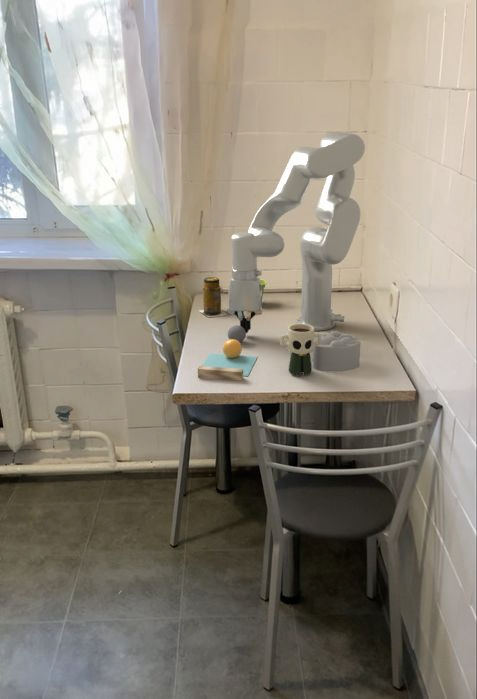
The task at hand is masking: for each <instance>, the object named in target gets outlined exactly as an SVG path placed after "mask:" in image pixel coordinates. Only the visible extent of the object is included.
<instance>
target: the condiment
mask: <svg viewBox="0 0 477 699" xmlns="http://www.w3.org/2000/svg"><path fill="white" fill-rule="evenodd" d="M221 288H222V287H221V286H220V279H219V277H215V276H214V277H213V276H211V277H209V276H208V277H205V278H204V279H203V287H202V290H203V291H202V293H203V294H202V298H203V299H202V303H203V304H202V305H203V309H201V310H200V309H199V310H198V312H200V313H201V314H203V315H204V316H205V317H207V318H214V317H221V316H227V315H228V314H229V313H226V312H225V311H222V291H221V290H222V289H221Z"/></svg>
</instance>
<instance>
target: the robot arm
mask: <svg viewBox="0 0 477 699" xmlns="http://www.w3.org/2000/svg"><path fill="white" fill-rule="evenodd" d="M365 146H366V145H365V142H364V140H363V138H361V136H360V135H358V134H355V133H348V132H340V131H330V132H327V133H325V134H323V135H322V137H321V138H320V141H319V147H318V148H317V147H309V146H302V147H297V149H295V150H294V151H293V152H292V154H291V156H290V158H289V160H288V162H287V165H286V166H285V168H284V171H283V173H282V176H281V177H280V180H279V182H278V184H277V186H276V188H275V191H274V192H273V193H272V195H271V196H270V197H269V198H268V199H267V200H266V201H265V202H264V203H263V204H262V205H261V207H260V208H259V209H258V210H257V211H256V213H255V215H254V217H253V218H252V222H251V223H250V225H249V228H248V231H247V232H245V231H244V232H237V233H234V234H232V236H231V239H230V244H231V245H230V246H231V249H230V251H231V252H230V253H231V277H230V278H229V283H228V292H227V293H228V294H227V295H228V297H227V314H232V315H234V316H235V317H236V318H238V321H239V326H241V327H243V328H244V330H245V332H246V334H248V332H249V331H250V330H251V329H252V328H251V327H252V324H251V320H252V319H253V318H254V317H255V316H260V315H262V314H263V308H262V307H263V298H262V289H261V282H260V279H261V278H260V276H262V274H263V272H262V270H259V269H258V259H257V258H274V257H277V256H279V255H280V254H281V253H282V252H283V251H284V248H285V240H284V238H283V236H282V235H280V234H279V233H278V232H275V231H273V229H274V228H275V226H276V225H277V224H276V223H277V222H278V220H279V219H280V218H281V217H282V216H284V215H285V214H286V213H288V212H290V211H293V210H294V209H296V208H298V207H299V206H300V205H301V204H302V202H303V199H304V198H305V195H306V193H307V191H308V189H309V187H310V185H311V183H312V180H322V179H325V181H324V184H323V187H322V191H321V193H320V196H319V198H318V201H317V204H316V207H315V217H316V218H317V220H318V221H319V222H321V223H322V224H324V225H327V229H326V228H324V227H320V226H319V227H318V226H313V227H309V228H308V229H306V230H305V231H304V232H303V233H302V235H301V237H300V242H299V249H300V256H301V266H302V267H301V269H302V270H301V272H302V273H301V303H300V304H301V306H300V308H301V310H300V312H301V313H300V317H297V319H296V321H295V322H296V323H295V324H308V325H311V326H313V327H314V332H315V331H317V332H318V331H327V330H331V329H332V328H334V327H335V326H336V322H340V323H344V322H345V315H342V314H341V313H340V314H338V313H333V309H332V292H333V291H332V289H333V288H332V287H333V265H337V264H340V263H342V261H343V260H345V258H346V257H347V255H348V253H349V251H350V250H351V249H350V248H351V246H352V243H353V240H354V238H355V236H356V232H357V230H358V227H359V225H360V220H361V207H360V205H359V203H358V202H357V201H356V200H355V199H353V198H352V197H350V195H351V193H352V191H353V188H354V187H353V186H354V183H355V177H356V173H355V172H356V171H355V167H354V165H355V164H357V163H358V162H360V160H362V158H363V156H364V154H365V149H366V147H365ZM244 312H246V316H245V313H244Z"/></svg>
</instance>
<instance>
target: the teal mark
mask: <svg viewBox="0 0 477 699" xmlns="http://www.w3.org/2000/svg"><path fill="white" fill-rule="evenodd" d="M257 359H258V356H256V355H243V354H242V355H241V354H240V355H239V356H238V357H236V358H228V357H227V356H226V355H225V354H224V353H213V352H212V353H211V352H210V353H209V354H208V356H207V357H206V359H205V360H204V362H203V363H202V365H201V366H207V367H221V368H234V369H243V377H249V375H250V372H251V370H252V369H253V367H254V365H255V363H256V360H257ZM196 372H197V374H198V371H196Z"/></svg>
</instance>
